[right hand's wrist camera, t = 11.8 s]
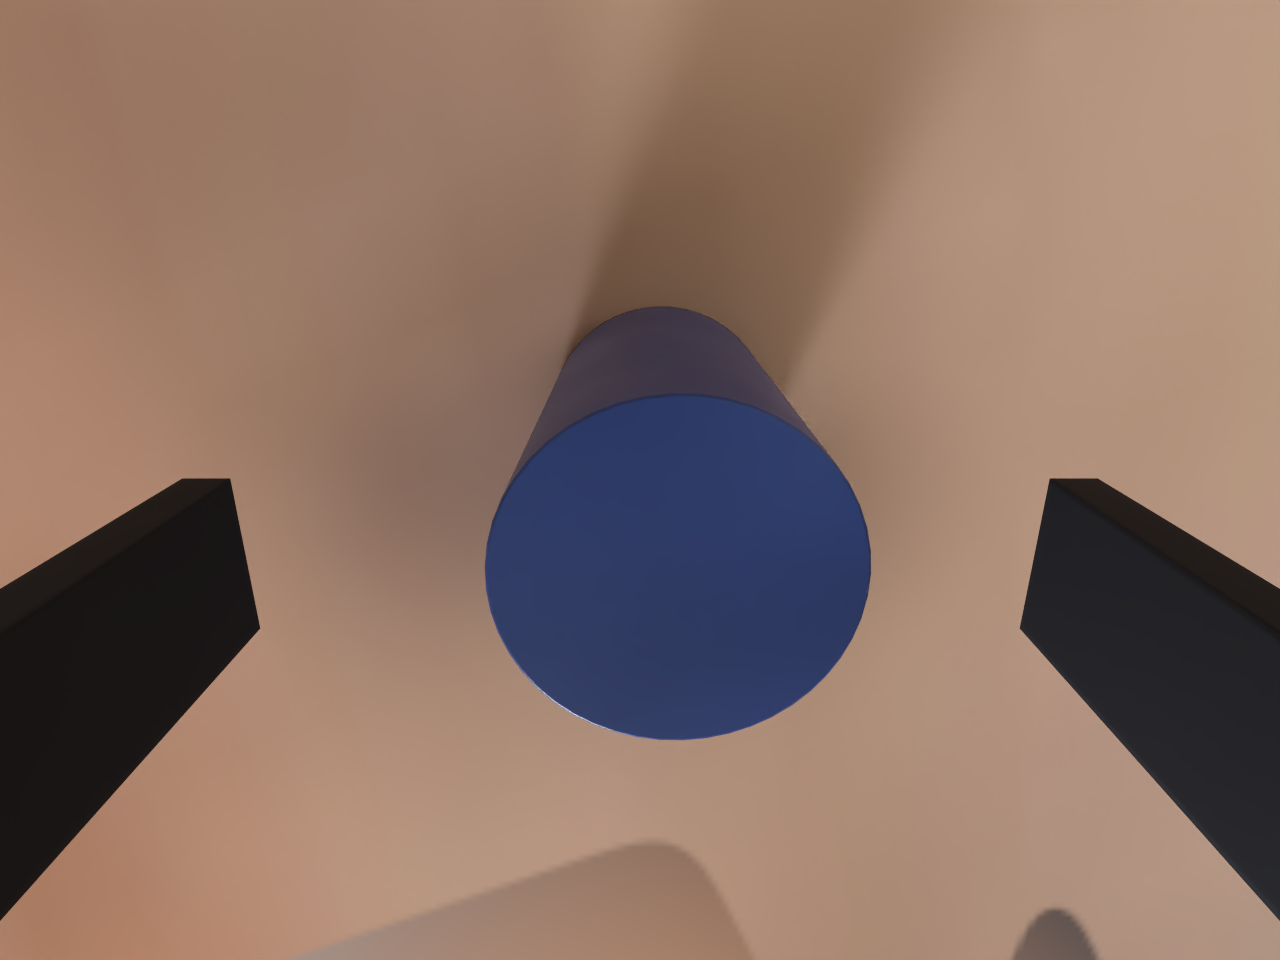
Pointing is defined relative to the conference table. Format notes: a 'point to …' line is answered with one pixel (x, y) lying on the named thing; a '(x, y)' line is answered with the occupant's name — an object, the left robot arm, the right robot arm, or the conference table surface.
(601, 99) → the conference table surface
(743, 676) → the canister
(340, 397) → the conference table surface
